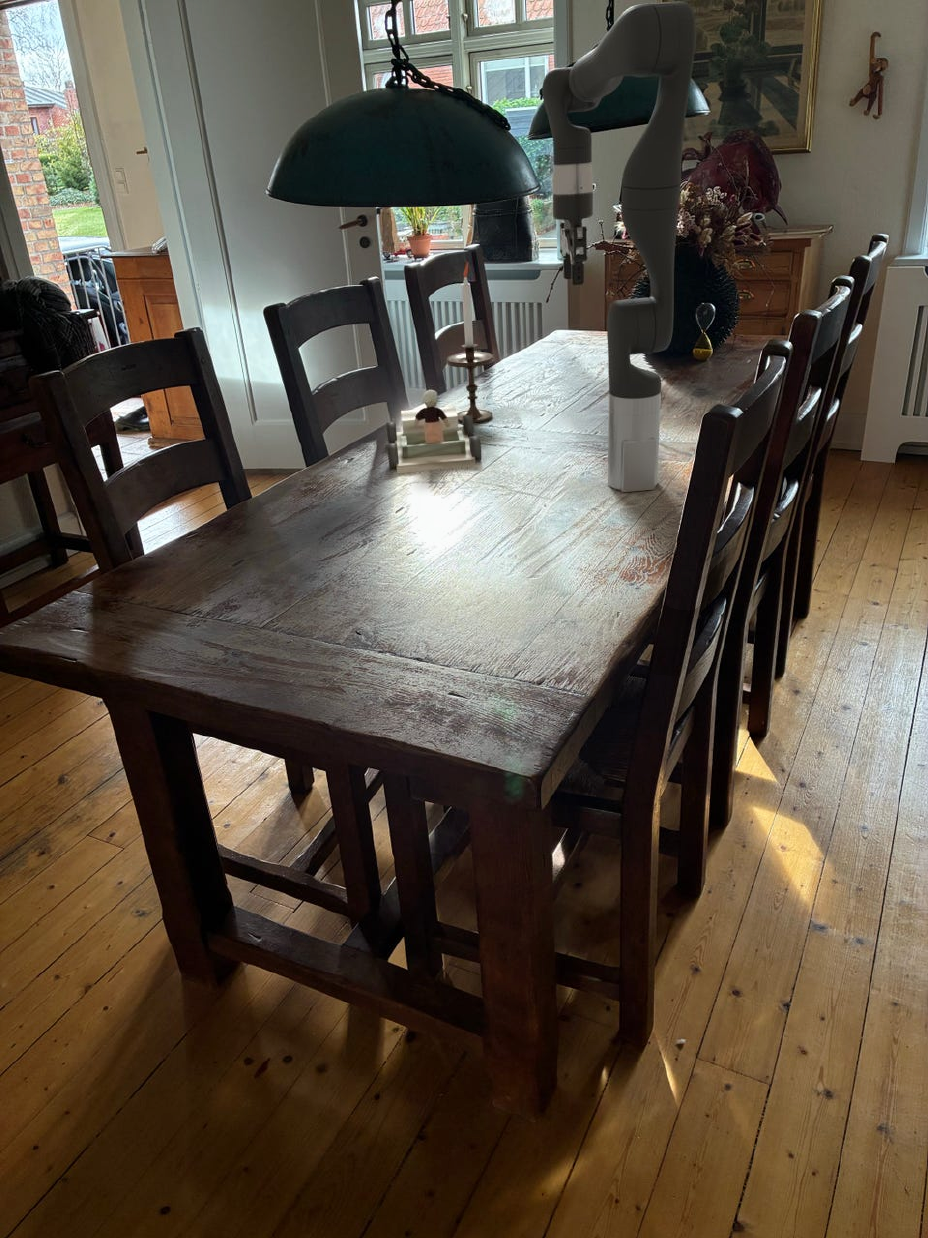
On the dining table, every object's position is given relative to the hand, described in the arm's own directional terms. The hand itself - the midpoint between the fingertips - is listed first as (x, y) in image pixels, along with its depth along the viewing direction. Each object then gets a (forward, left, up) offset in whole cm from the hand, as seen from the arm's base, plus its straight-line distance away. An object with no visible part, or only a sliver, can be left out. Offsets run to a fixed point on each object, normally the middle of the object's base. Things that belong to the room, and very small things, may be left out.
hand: (573, 281), depth 180 cm
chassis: (+4, +30, -33) cm, 45 cm away
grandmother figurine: (+1, +30, -32) cm, 44 cm away
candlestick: (+27, +19, -33) cm, 47 cm away
